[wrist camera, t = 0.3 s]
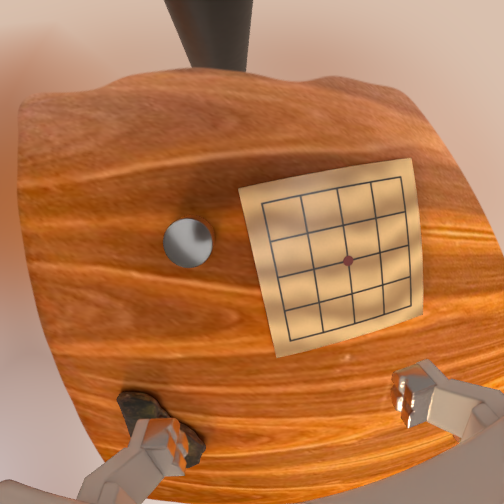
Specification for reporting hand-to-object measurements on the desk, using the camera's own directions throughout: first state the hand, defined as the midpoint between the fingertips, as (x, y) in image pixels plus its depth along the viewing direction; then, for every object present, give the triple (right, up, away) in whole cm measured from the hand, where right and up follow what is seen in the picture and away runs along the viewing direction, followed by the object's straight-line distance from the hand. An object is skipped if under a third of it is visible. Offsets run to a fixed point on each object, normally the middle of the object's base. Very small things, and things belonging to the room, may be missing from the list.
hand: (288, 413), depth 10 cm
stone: (-15, -21, +29) cm, 39 cm away
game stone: (-8, +7, +23) cm, 25 cm away
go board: (+9, +5, +24) cm, 26 cm away
